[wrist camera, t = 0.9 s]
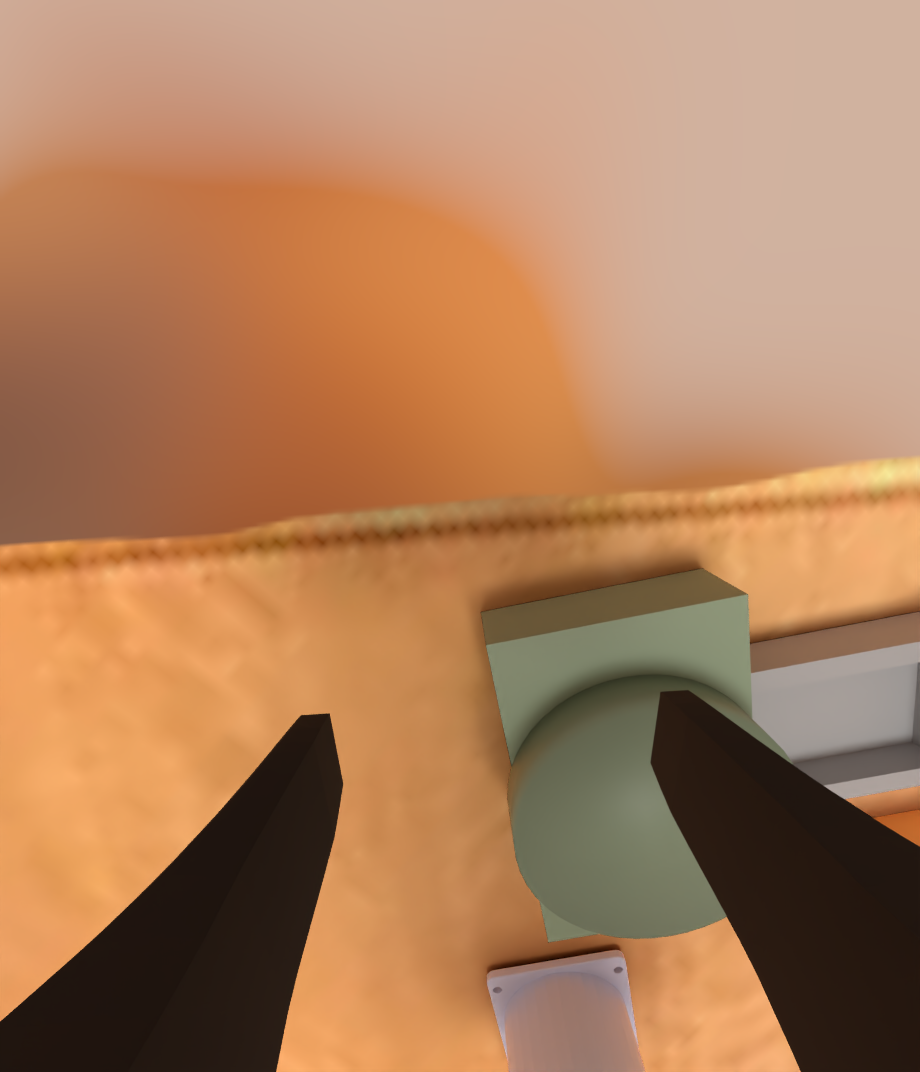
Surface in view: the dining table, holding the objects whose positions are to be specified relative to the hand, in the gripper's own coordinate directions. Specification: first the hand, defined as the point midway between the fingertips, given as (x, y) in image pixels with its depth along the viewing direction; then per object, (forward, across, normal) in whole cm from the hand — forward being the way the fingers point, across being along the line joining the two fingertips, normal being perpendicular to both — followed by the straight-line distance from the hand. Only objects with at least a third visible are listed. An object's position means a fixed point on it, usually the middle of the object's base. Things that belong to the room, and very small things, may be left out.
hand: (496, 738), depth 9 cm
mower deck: (+9, -12, +9) cm, 17 cm away
